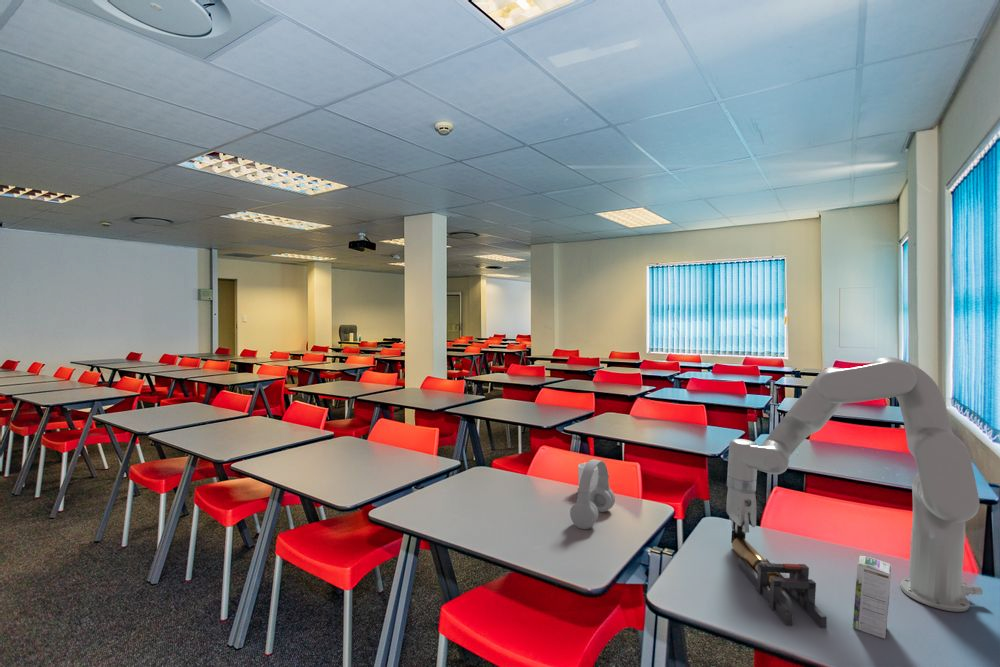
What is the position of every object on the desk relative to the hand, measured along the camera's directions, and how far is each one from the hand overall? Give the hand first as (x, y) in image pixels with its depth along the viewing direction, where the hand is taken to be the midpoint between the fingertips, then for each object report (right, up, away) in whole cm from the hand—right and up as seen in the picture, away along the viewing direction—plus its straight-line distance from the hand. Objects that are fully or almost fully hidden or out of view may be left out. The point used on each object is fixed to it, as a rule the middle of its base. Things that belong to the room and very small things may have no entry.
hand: (737, 544), depth 141 cm
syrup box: (+12, -3, -35) cm, 37 cm away
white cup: (-36, +1, +42) cm, 55 cm away
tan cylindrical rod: (-1, -2, -12) cm, 12 cm away
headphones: (-39, 0, +19) cm, 43 cm away
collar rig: (-1, -2, -22) cm, 23 cm away
